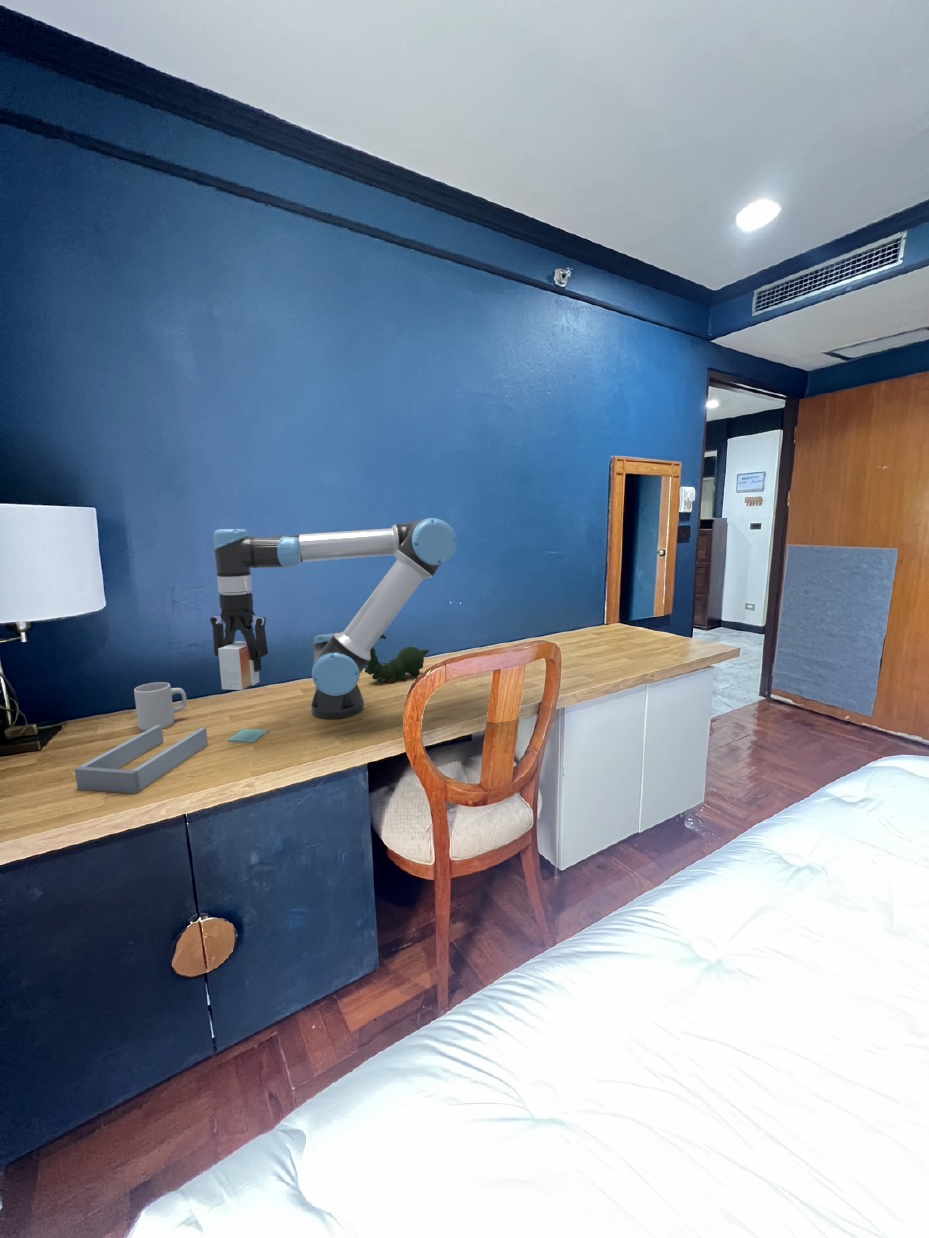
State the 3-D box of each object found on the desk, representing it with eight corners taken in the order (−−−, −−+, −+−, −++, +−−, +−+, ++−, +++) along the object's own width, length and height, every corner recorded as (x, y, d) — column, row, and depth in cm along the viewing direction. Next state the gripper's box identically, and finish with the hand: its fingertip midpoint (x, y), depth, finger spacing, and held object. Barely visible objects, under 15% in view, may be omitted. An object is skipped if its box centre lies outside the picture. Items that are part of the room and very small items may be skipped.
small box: (242, 690, 121) (238, 649, 119) (221, 689, 122) (217, 648, 120) (260, 680, 129) (256, 641, 127) (240, 679, 130) (236, 640, 127)
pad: (268, 731, 132) (267, 730, 132) (253, 742, 125) (253, 741, 125) (243, 730, 133) (243, 728, 133) (228, 741, 126) (227, 739, 126)
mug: (140, 733, 131) (135, 694, 128) (136, 723, 137) (131, 686, 135) (191, 722, 138) (187, 684, 136) (185, 713, 144) (181, 677, 142)
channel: (207, 744, 124) (206, 727, 123) (135, 793, 102) (133, 773, 101) (159, 741, 126) (157, 724, 125) (77, 789, 103) (74, 769, 102)
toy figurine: (374, 693, 166) (437, 674, 180) (367, 639, 162) (432, 624, 175) (363, 686, 174) (424, 668, 187) (356, 634, 170) (419, 620, 183)
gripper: (278, 591, 124) (285, 679, 129) (210, 590, 127) (219, 677, 131) (263, 595, 117) (270, 689, 121) (190, 594, 119) (200, 686, 124)
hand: (243, 682), depth 126 cm, fingers closed on small box, 6 cm apart
